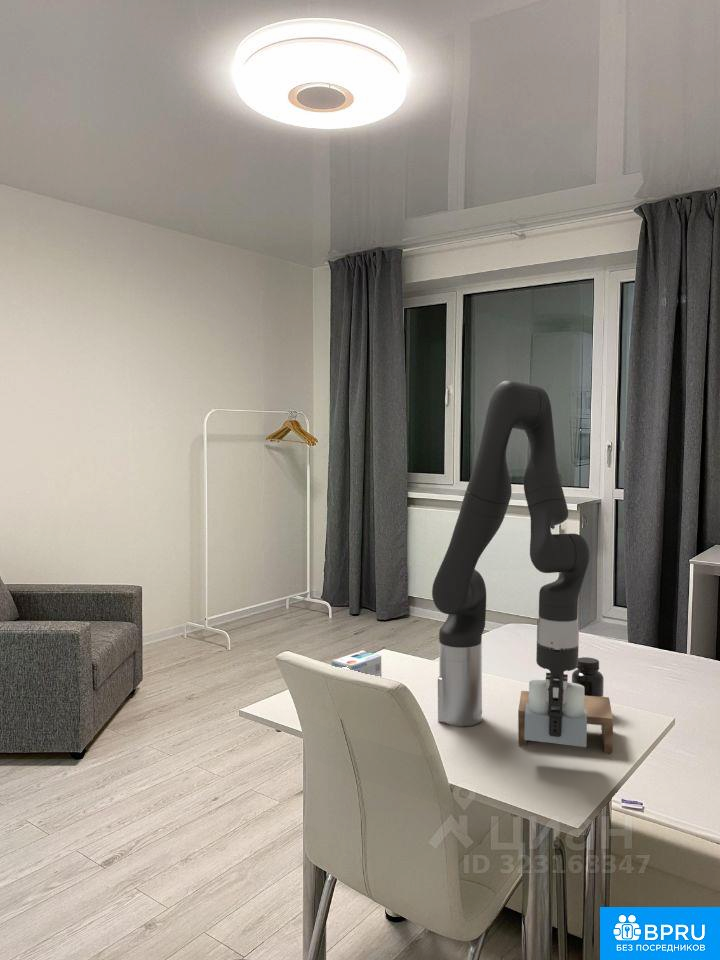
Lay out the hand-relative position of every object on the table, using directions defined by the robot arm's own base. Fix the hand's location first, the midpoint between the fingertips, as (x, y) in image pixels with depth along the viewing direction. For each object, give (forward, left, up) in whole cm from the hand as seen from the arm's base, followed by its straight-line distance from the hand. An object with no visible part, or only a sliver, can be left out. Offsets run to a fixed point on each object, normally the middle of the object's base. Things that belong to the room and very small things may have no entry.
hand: (555, 728), depth 138 cm
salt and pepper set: (0, 0, -2) cm, 2 cm away
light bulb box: (-45, +24, -7) cm, 52 cm away
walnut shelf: (+2, +14, -7) cm, 16 cm away
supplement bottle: (+7, +29, -7) cm, 31 cm away
